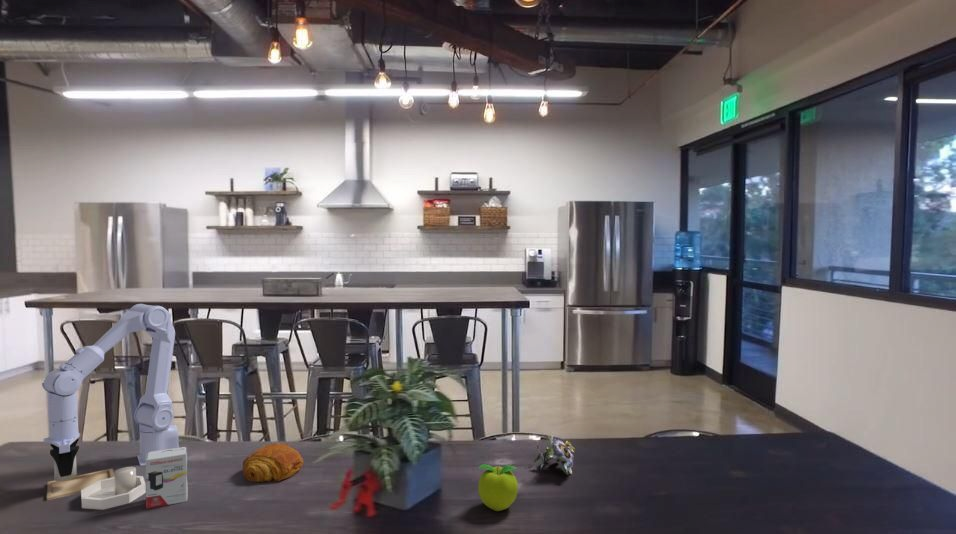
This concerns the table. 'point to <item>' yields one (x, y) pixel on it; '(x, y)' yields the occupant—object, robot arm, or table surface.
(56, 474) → the stone
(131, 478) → the grey rounded cylinder
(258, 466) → the croissant
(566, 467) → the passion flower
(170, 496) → the ink box
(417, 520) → the table surface
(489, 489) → the fruit
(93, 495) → the white octagonal dish
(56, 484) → the oak tray
